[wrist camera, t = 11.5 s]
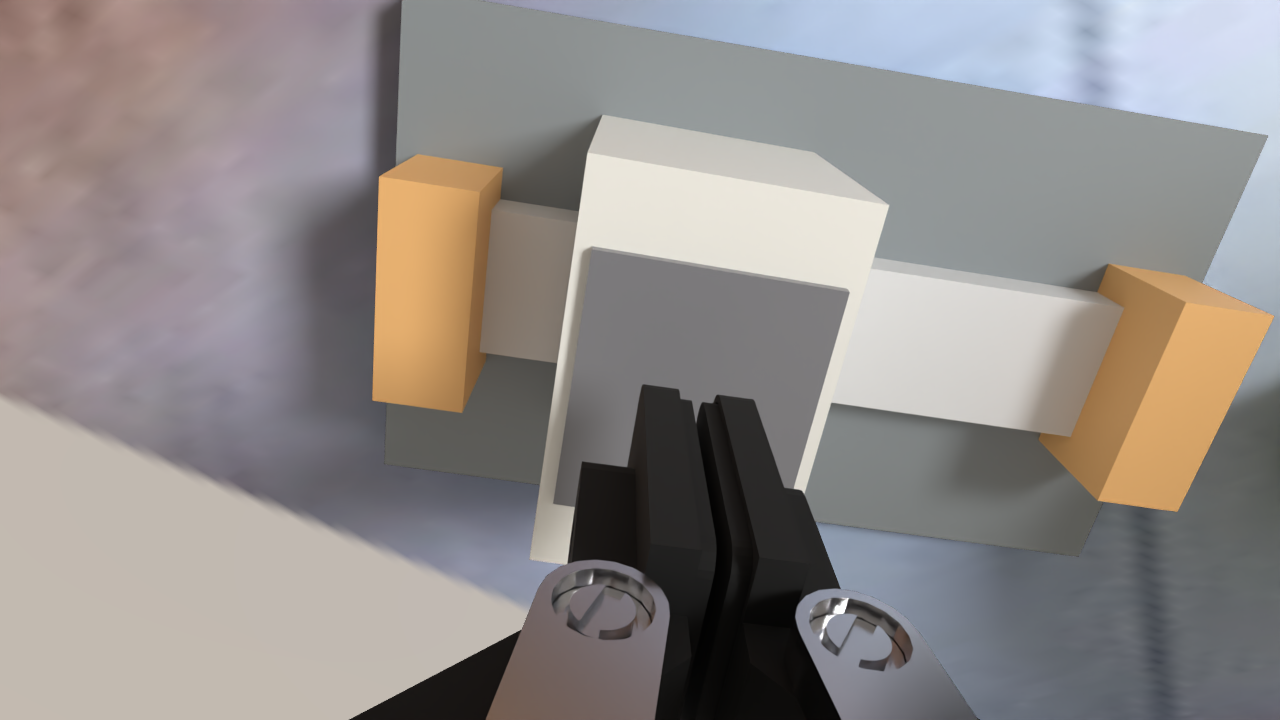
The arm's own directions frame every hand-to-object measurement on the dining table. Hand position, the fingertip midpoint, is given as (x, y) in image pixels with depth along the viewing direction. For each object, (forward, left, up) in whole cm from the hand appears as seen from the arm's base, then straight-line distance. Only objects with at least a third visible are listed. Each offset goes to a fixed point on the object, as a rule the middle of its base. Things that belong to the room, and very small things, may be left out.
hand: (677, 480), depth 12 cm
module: (0, 0, -9) cm, 9 cm away
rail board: (-3, 0, -10) cm, 10 cm away
